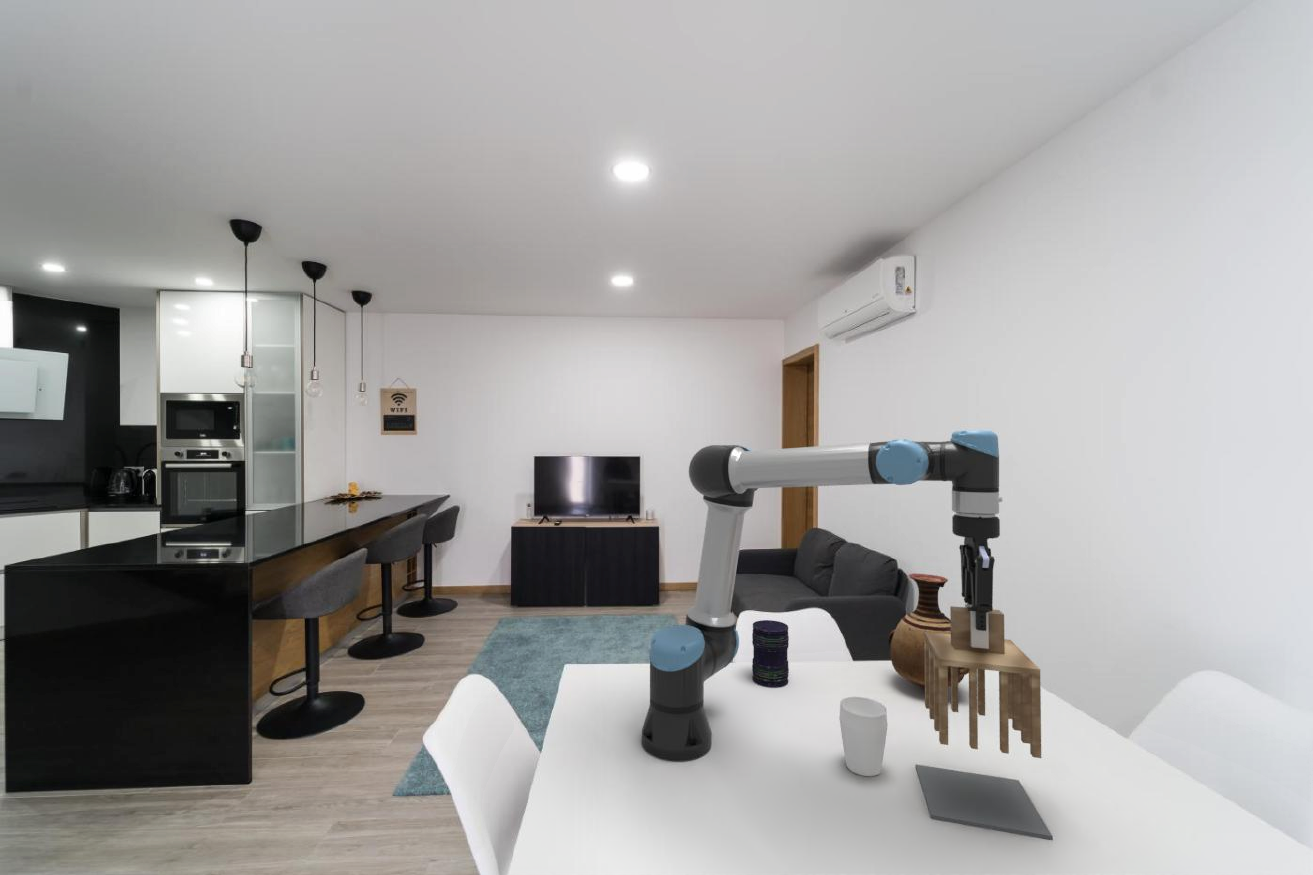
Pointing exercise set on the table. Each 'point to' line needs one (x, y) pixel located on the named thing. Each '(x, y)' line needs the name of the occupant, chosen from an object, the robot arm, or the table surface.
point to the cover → (983, 680)
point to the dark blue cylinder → (770, 653)
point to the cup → (863, 734)
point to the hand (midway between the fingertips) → (976, 643)
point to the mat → (980, 801)
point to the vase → (920, 632)
